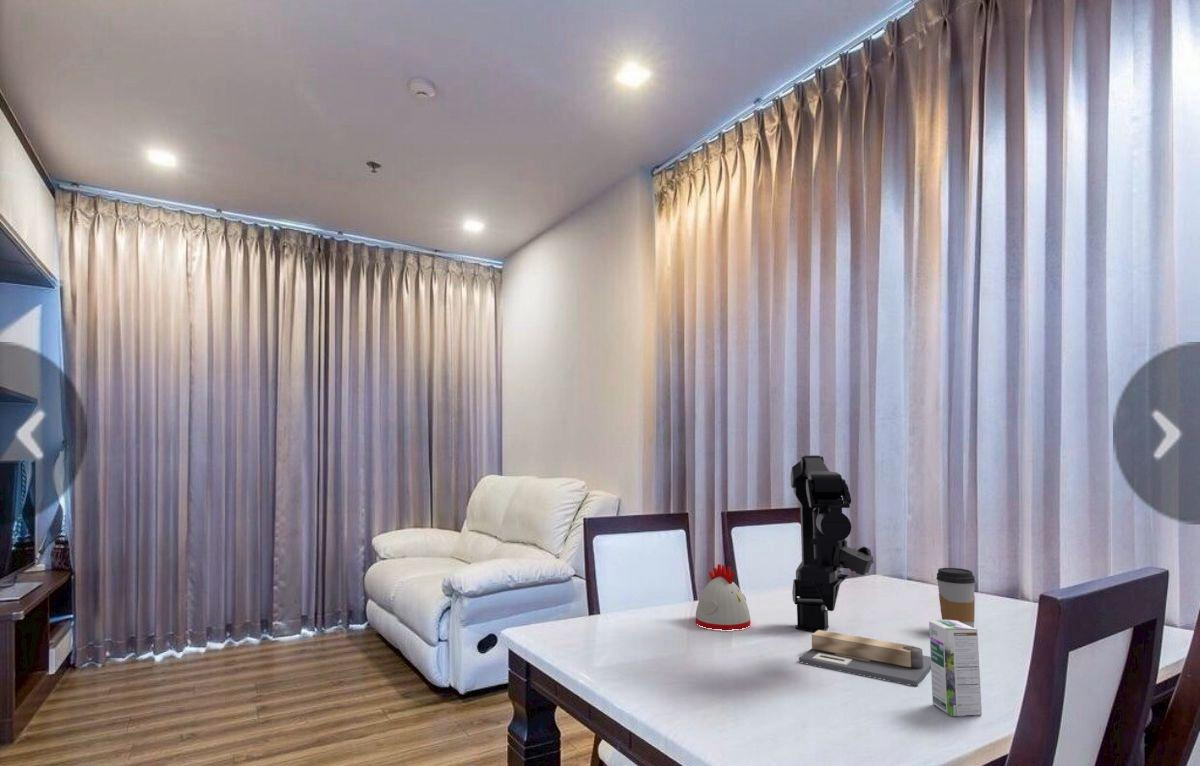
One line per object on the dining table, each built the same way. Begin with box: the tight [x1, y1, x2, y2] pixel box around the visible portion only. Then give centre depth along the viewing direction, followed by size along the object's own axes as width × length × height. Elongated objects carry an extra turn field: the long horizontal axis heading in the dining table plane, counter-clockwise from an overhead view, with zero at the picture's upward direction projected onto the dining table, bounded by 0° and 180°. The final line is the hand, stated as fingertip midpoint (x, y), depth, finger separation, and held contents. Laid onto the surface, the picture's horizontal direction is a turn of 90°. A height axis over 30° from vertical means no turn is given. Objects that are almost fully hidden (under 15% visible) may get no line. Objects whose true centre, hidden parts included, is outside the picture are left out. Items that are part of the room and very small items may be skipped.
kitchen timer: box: [695, 563, 752, 630], centre depth 168 cm, size 14×14×15 cm
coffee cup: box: [936, 567, 976, 628], centre depth 157 cm, size 8×8×15 cm
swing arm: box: [811, 630, 924, 668], centre depth 137 cm, size 22×4×3 cm, turn 52°
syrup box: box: [928, 619, 983, 717], centre depth 113 cm, size 6×6×14 cm
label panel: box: [798, 648, 931, 687], centre depth 137 cm, size 23×17×1 cm
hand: (830, 610), depth 135 cm, fingers closed
